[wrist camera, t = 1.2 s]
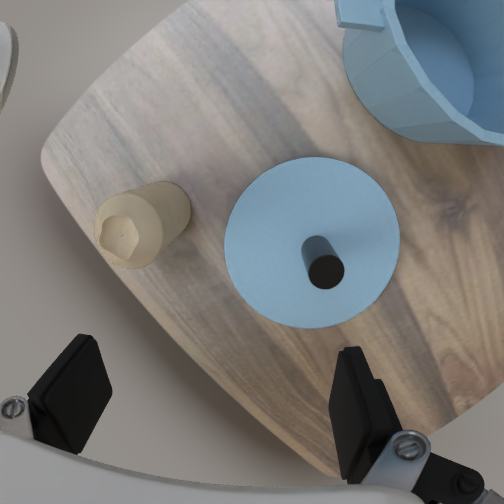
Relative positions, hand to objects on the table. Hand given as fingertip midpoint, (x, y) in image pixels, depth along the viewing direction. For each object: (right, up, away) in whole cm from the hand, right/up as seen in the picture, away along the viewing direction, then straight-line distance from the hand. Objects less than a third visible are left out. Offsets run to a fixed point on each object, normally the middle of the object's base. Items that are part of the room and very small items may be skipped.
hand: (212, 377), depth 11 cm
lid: (+7, +5, +18) cm, 20 cm away
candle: (-7, +9, +18) cm, 21 cm away
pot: (+18, +22, +12) cm, 31 cm away
